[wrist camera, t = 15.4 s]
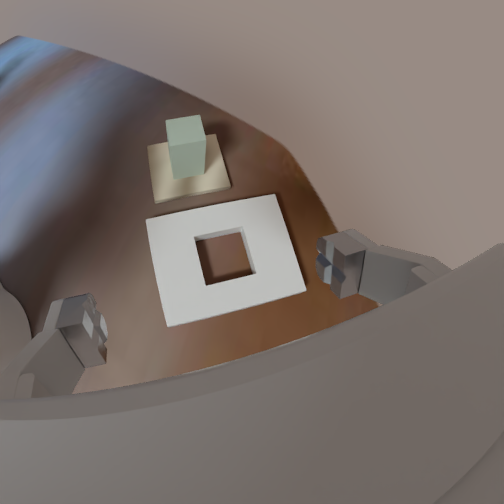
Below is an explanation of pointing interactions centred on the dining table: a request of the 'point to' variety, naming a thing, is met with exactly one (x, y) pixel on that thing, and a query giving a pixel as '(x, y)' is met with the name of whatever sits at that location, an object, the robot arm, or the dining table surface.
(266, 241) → the holder
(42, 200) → the dining table surface
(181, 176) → the block
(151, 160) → the pad
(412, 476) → the robot arm
